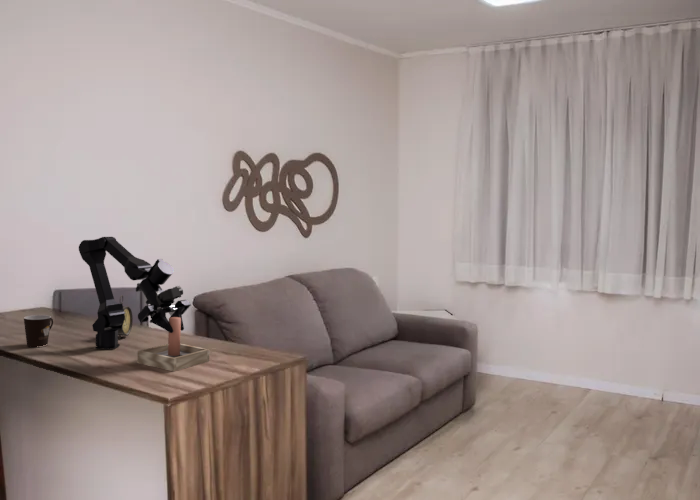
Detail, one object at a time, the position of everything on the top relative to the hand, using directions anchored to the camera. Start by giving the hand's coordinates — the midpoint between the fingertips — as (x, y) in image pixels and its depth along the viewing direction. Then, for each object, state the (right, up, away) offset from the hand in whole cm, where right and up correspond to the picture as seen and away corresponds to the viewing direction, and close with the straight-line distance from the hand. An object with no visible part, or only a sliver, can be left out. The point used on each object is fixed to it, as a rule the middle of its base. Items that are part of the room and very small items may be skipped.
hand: (177, 331), depth 203 cm
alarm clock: (-31, -7, +33) cm, 46 cm away
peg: (-2, -8, +1) cm, 8 cm away
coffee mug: (-53, -7, +17) cm, 56 cm away
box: (-2, -10, +1) cm, 11 cm away
